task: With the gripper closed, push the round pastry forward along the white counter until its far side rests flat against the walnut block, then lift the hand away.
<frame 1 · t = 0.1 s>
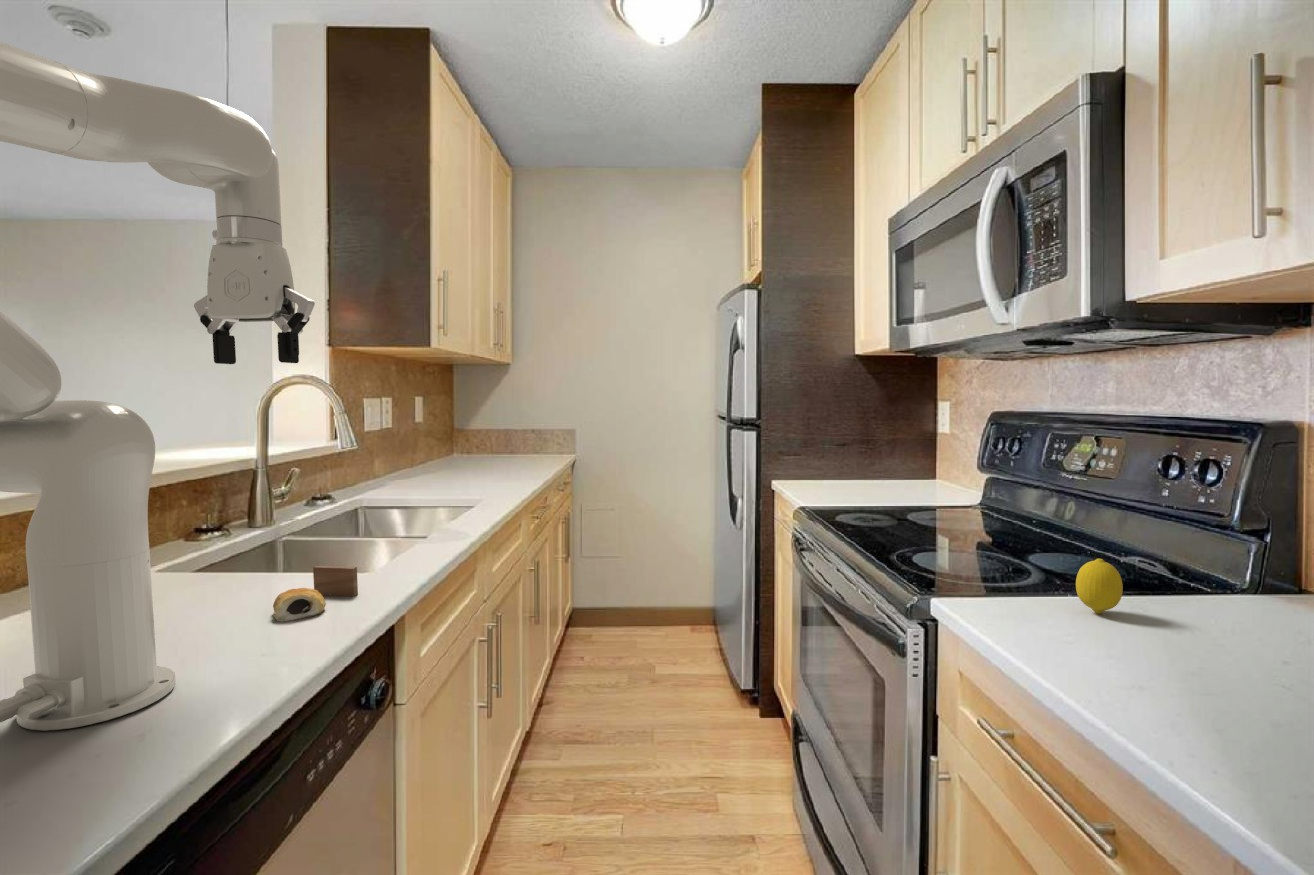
hand: (256, 363, 89), 37 cm above the counter, tool pointing down, fingers open, 9 cm apart
walnut block: (336, 594, 103), on the counter
pastry: (298, 614, 95), on the counter
lemon: (1097, 614, 92), on the counter
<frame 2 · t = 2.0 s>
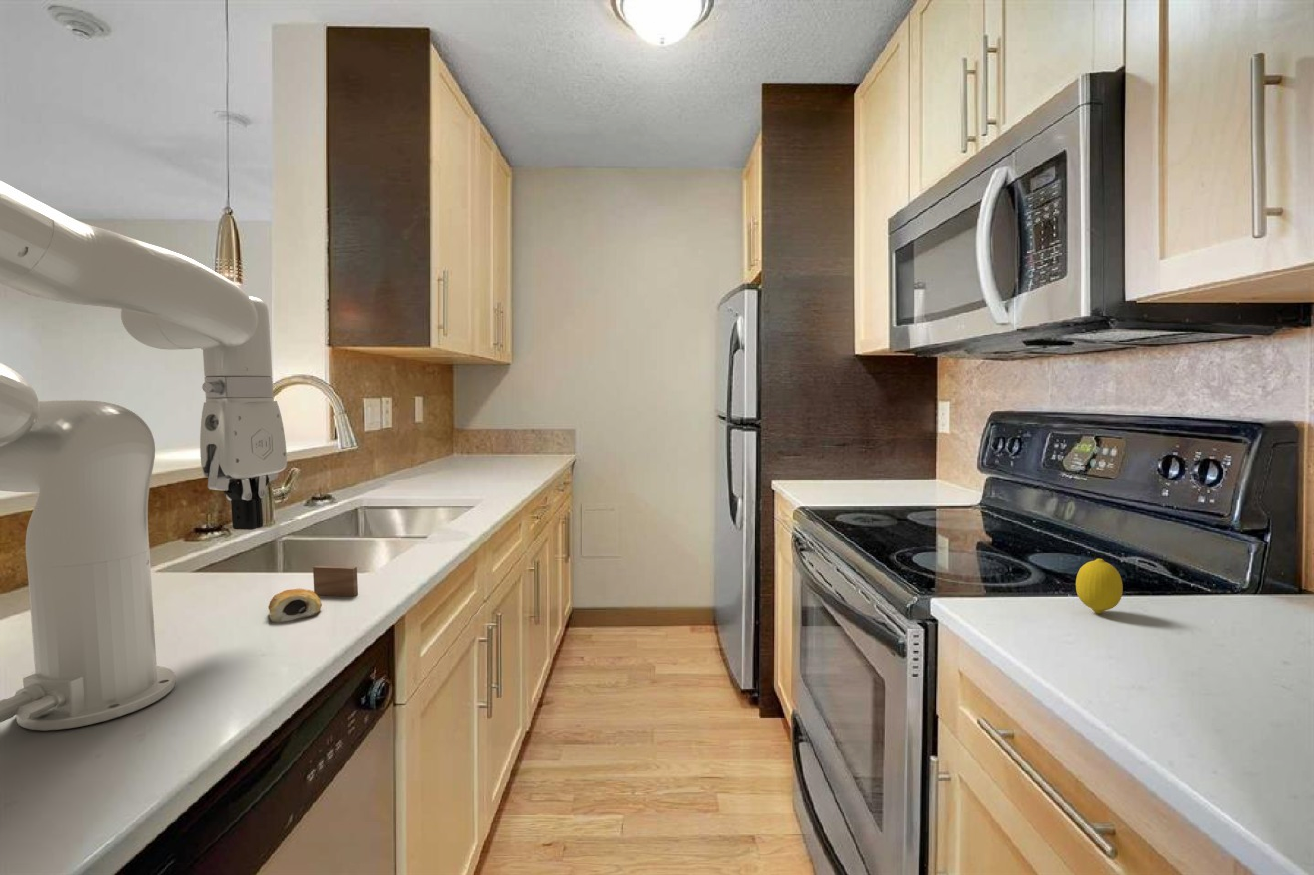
hand: (248, 527, 86), 14 cm above the counter, tool pointing down, fingers closed
nothing on the counter moved.
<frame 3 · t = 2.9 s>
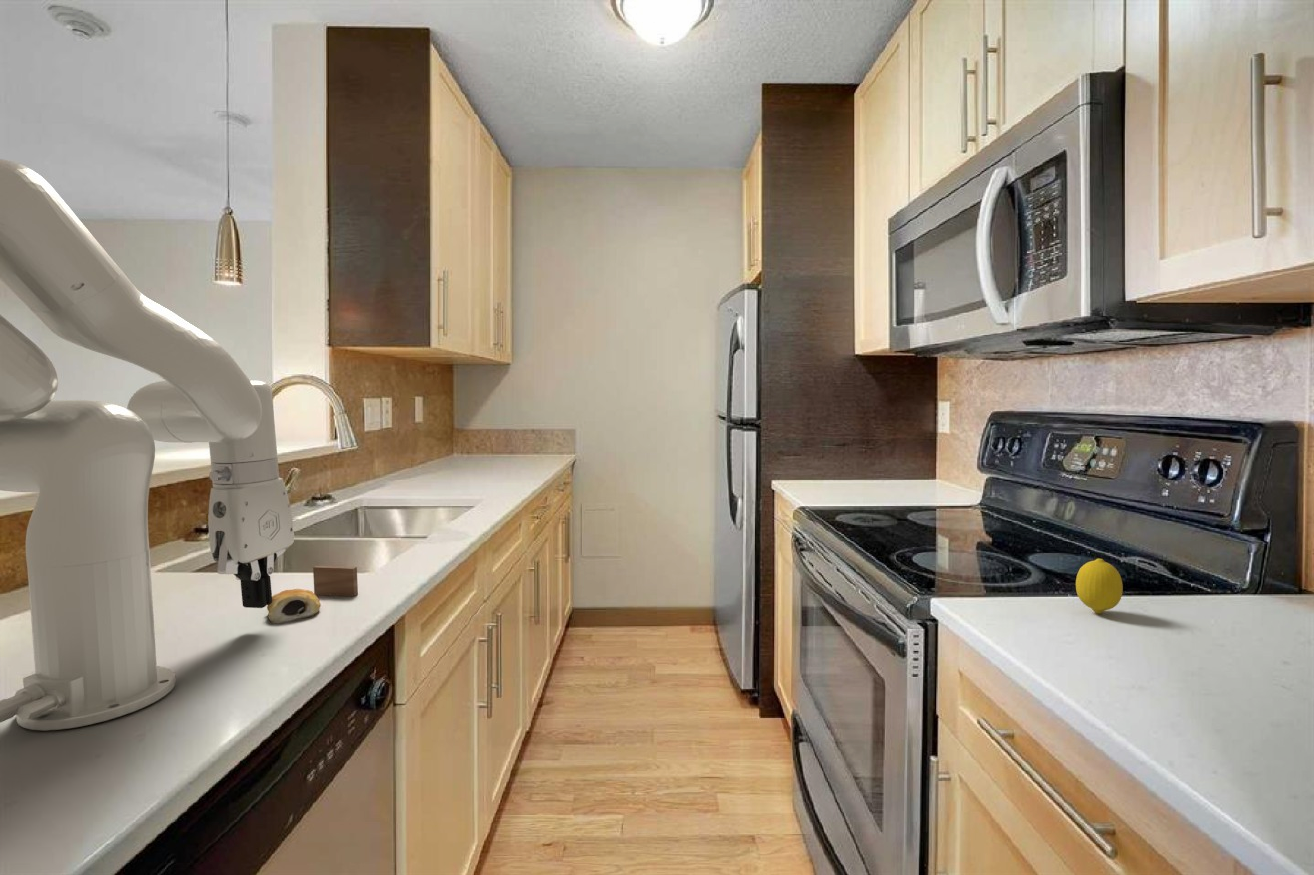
hand: (257, 605, 87), 4 cm above the counter, tool pointing down, fingers closed
nothing on the counter moved.
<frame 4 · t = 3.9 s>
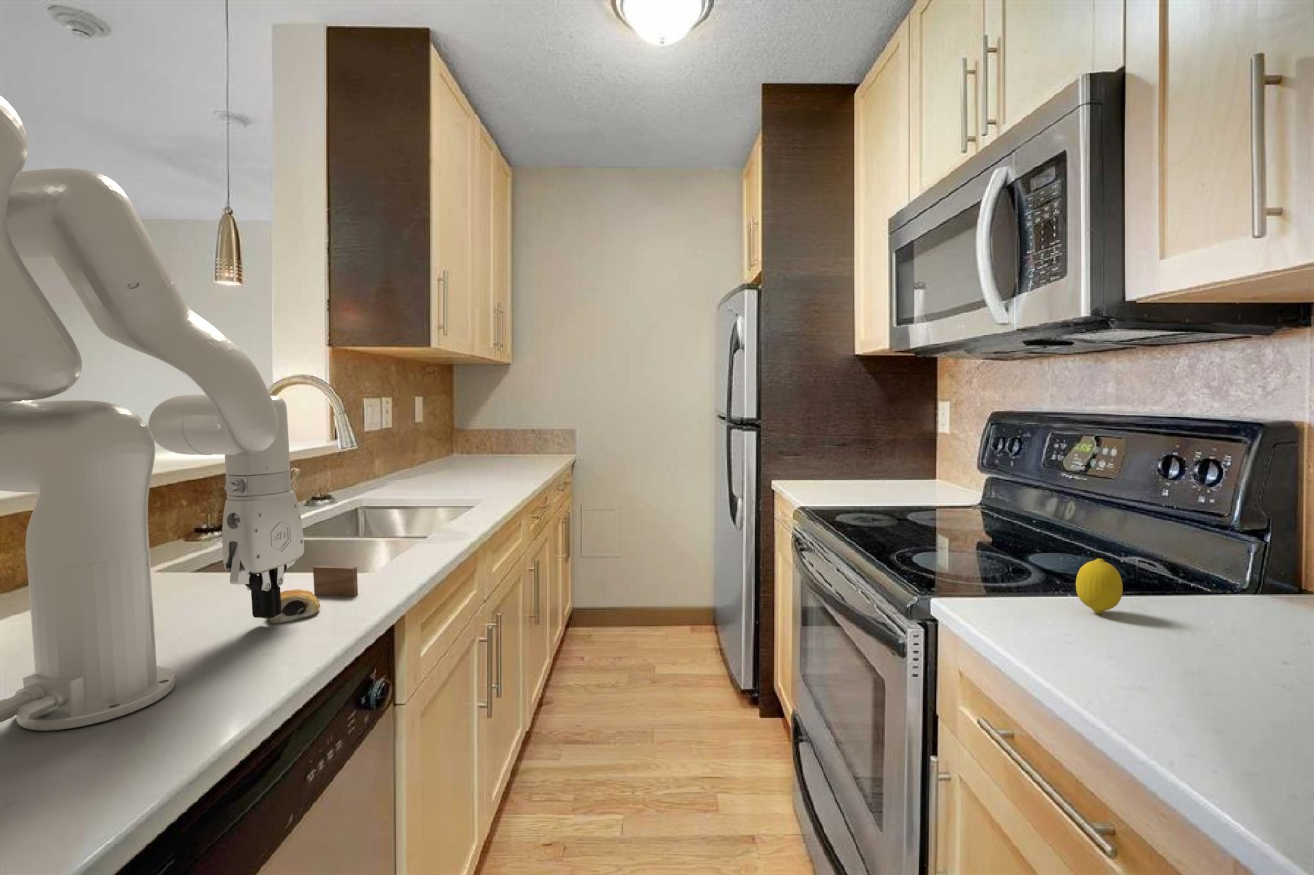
hand: (267, 615, 89), 1 cm above the counter, tool pointing down, fingers closed
pastry: (292, 616, 95), on the counter, touching gripper
everything else where it was.
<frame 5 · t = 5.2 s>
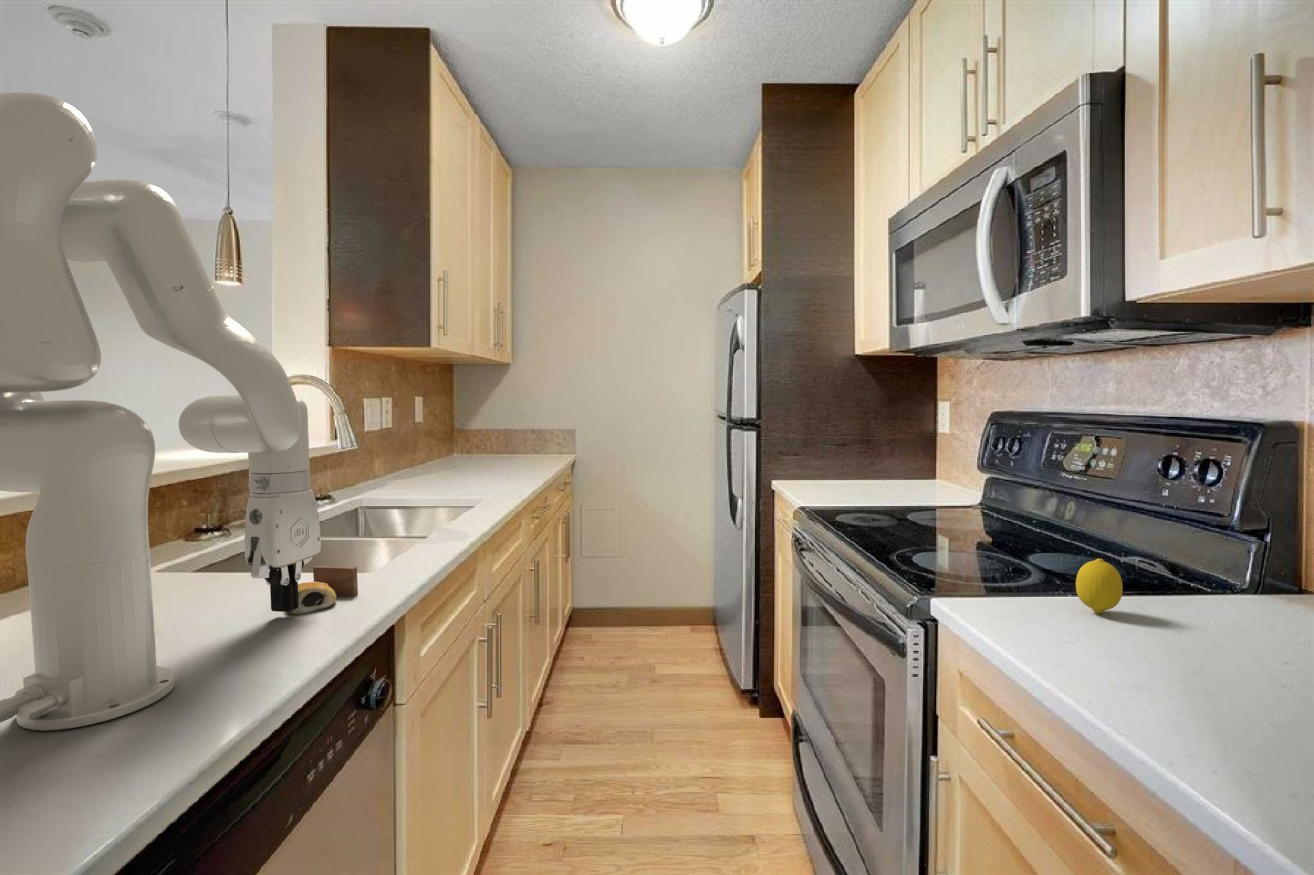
hand: (285, 609, 93), 1 cm above the counter, tool pointing down, fingers closed
pastry: (309, 607, 98), on the counter, touching gripper, walnut block
everything else where it was.
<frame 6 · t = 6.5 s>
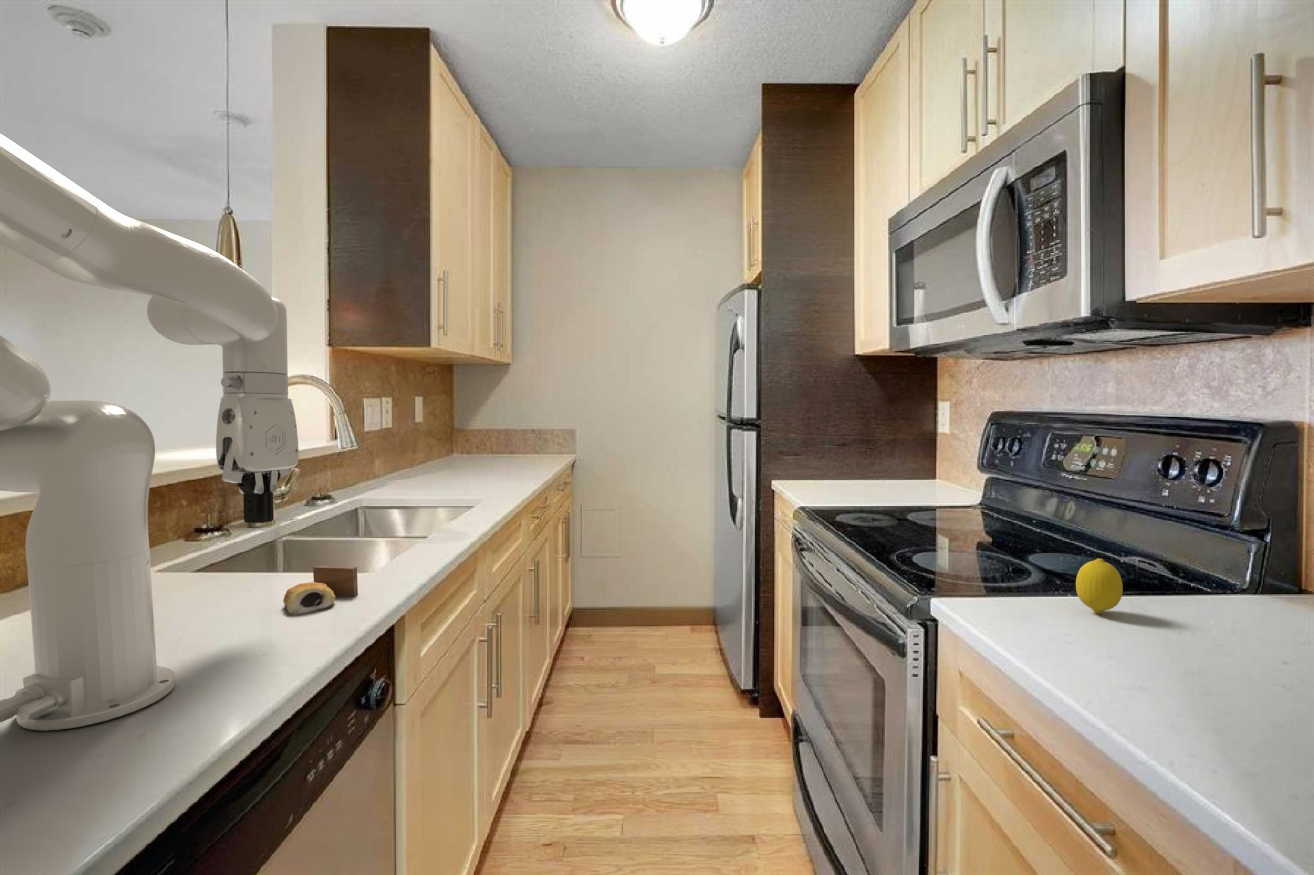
hand: (258, 521, 88), 15 cm above the counter, tool pointing down, fingers closed
pastry: (307, 607, 98), on the counter
everything else where it was.
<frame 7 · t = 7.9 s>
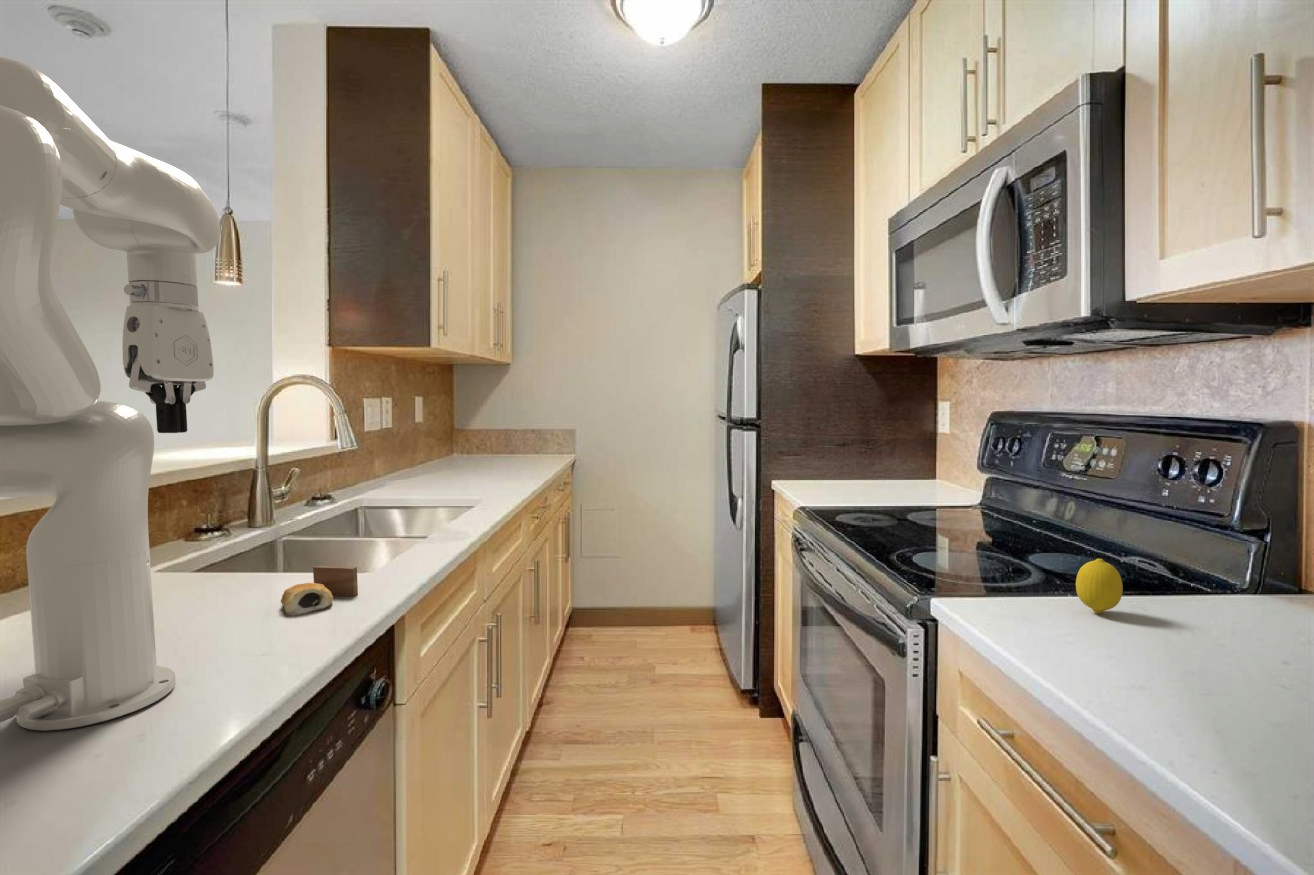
hand: (172, 432, 89), 27 cm above the counter, tool pointing down, fingers closed
nothing on the counter moved.
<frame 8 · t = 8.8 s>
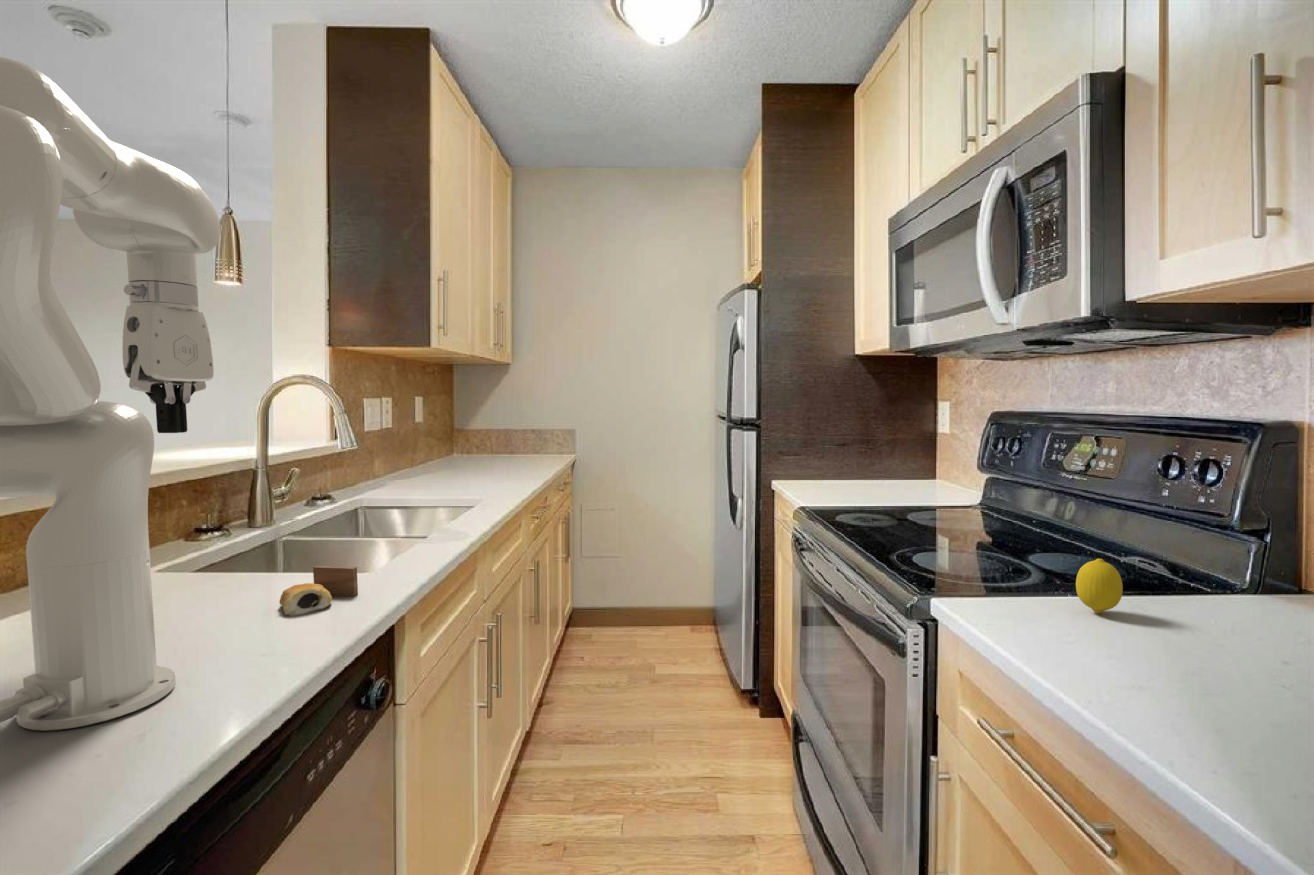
hand: (172, 432, 89), 27 cm above the counter, tool pointing down, fingers closed
nothing on the counter moved.
at the end: pastry 1.2 cm from the target spot on the counter beside the walnut block, on the counter; pastry tilted 0°; pastry moved 2.4 cm from its start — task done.
